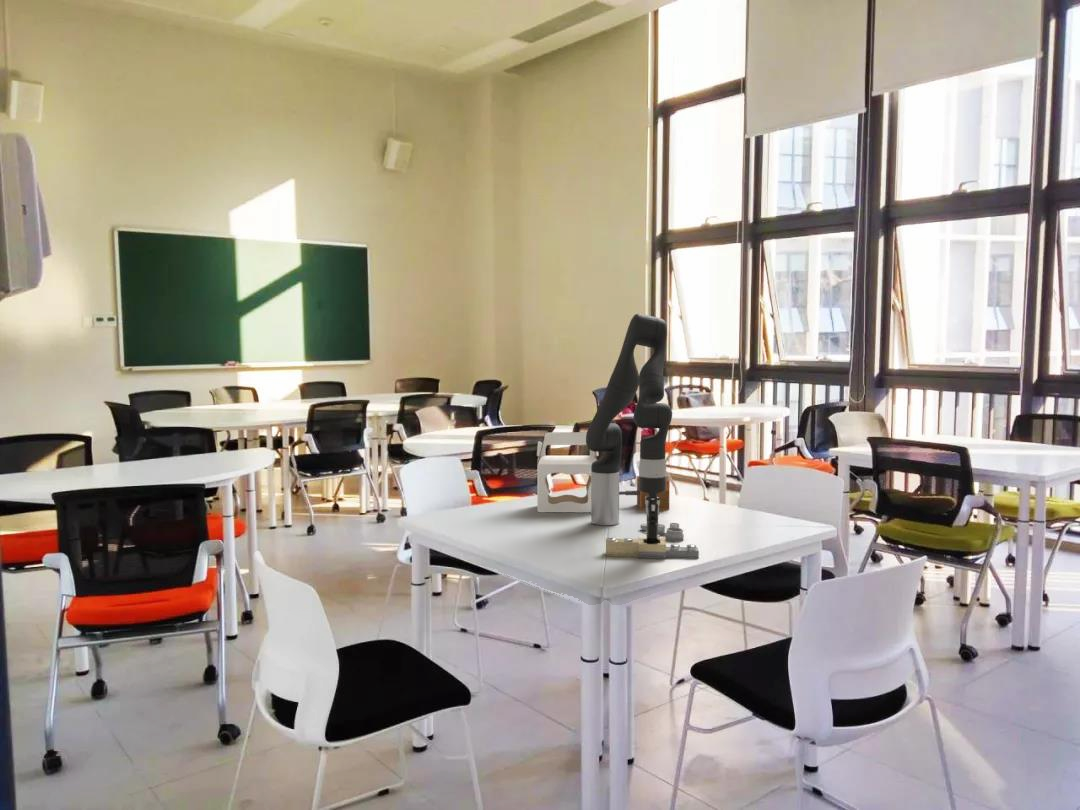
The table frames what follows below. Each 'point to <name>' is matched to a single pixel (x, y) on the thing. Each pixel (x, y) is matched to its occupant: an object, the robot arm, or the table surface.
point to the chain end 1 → (632, 546)
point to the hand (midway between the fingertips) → (652, 535)
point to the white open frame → (564, 466)
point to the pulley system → (668, 532)
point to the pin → (649, 539)
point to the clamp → (641, 495)
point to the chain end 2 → (672, 552)
